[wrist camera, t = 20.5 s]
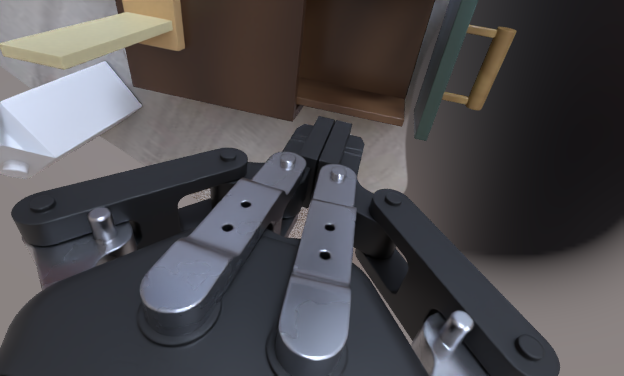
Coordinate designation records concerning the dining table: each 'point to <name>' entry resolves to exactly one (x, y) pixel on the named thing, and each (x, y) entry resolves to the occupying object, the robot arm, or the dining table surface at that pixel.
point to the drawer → (389, 58)
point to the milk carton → (60, 118)
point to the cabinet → (229, 56)
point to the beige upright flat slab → (103, 35)
